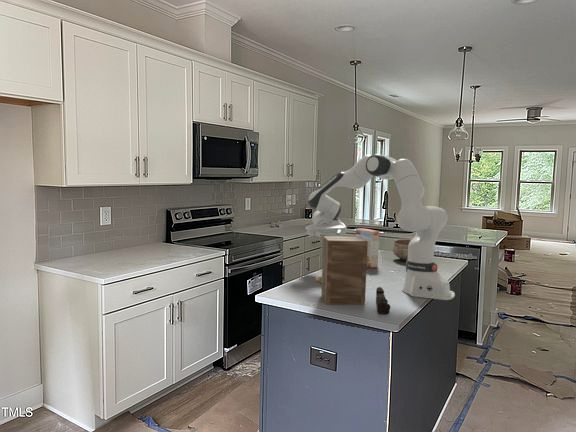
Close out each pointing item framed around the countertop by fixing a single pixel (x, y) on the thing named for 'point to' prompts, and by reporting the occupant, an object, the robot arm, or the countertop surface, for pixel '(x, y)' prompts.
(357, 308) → the countertop surface
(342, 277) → the wooden shelf
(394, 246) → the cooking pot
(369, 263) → the cracker box
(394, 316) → the countertop surface
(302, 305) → the countertop surface
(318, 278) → the oak slat
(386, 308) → the hand tool
